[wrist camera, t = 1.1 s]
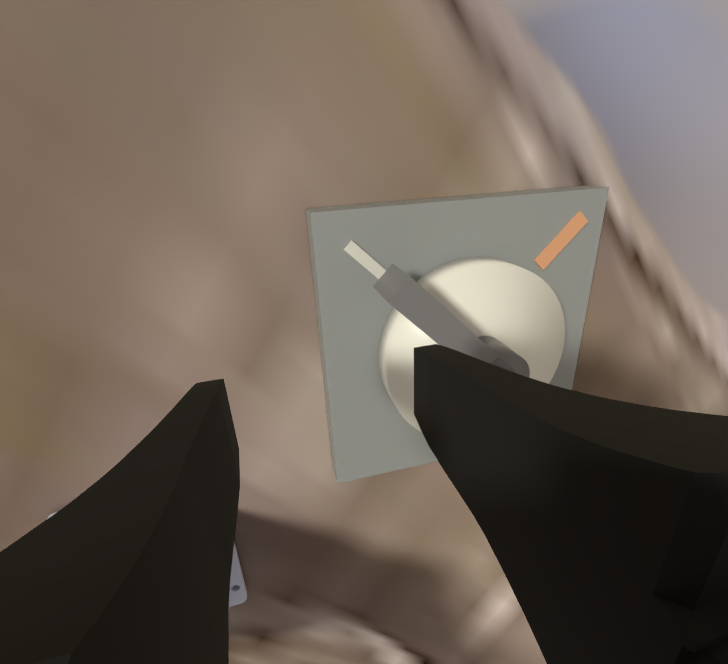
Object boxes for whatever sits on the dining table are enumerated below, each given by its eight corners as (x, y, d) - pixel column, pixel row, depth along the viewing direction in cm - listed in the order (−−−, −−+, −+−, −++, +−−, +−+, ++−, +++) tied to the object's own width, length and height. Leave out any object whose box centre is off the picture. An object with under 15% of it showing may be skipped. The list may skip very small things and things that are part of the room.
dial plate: (548, 418, 26) (565, 433, 24) (332, 464, 23) (338, 485, 22) (585, 185, 20) (611, 187, 19) (305, 208, 17) (310, 213, 16)
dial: (574, 328, 22) (629, 356, 18) (459, 448, 23) (492, 494, 20) (443, 182, 17) (487, 187, 14) (306, 344, 18) (318, 383, 15)
